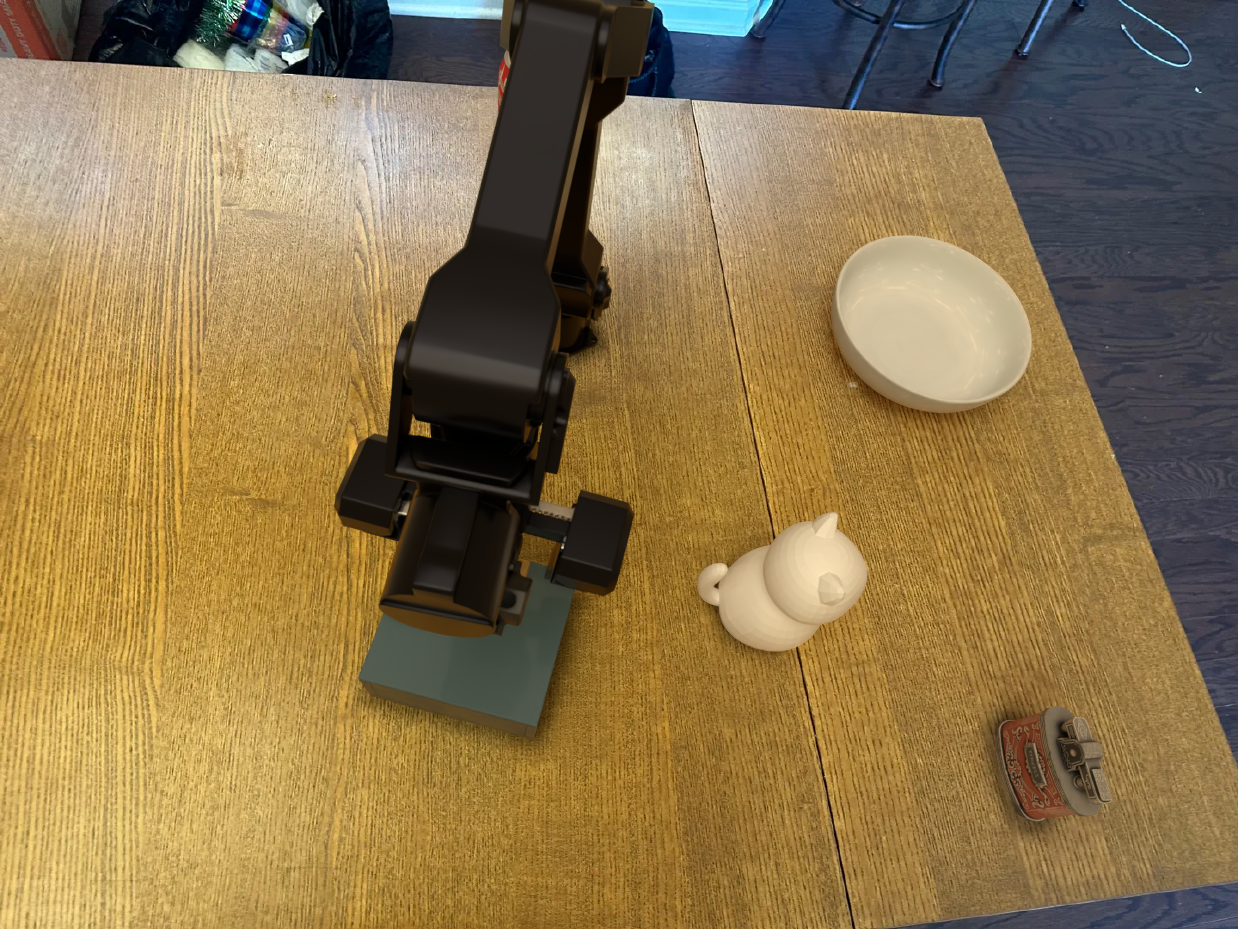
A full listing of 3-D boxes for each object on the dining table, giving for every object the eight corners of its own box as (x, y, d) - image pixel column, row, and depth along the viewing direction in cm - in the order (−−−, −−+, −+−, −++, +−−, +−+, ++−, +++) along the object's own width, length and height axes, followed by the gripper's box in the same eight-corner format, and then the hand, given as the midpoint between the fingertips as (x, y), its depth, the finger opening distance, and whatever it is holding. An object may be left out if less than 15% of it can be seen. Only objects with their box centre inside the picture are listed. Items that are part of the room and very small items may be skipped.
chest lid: (416, 532, 65) (410, 509, 61) (578, 577, 66) (583, 557, 61) (359, 680, 60) (348, 666, 56) (536, 728, 60) (539, 717, 56)
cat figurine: (824, 662, 71) (899, 614, 58) (685, 654, 70) (728, 603, 57) (816, 566, 75) (883, 500, 62) (684, 556, 74) (724, 487, 61)
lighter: (986, 722, 71) (1056, 701, 62) (1021, 720, 71) (1095, 698, 62) (1014, 823, 67) (1092, 815, 58) (1050, 820, 68) (1133, 811, 59)
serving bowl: (878, 461, 81) (909, 428, 75) (778, 302, 89) (799, 260, 83) (1034, 402, 87) (1075, 366, 81) (929, 257, 95) (958, 215, 89)
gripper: (270, 547, 43) (326, 626, 57) (609, 639, 43) (582, 696, 57) (350, 378, 48) (383, 488, 62) (653, 461, 48) (618, 552, 62)
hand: (489, 557), depth 61 cm, fingers open, 9 cm apart
